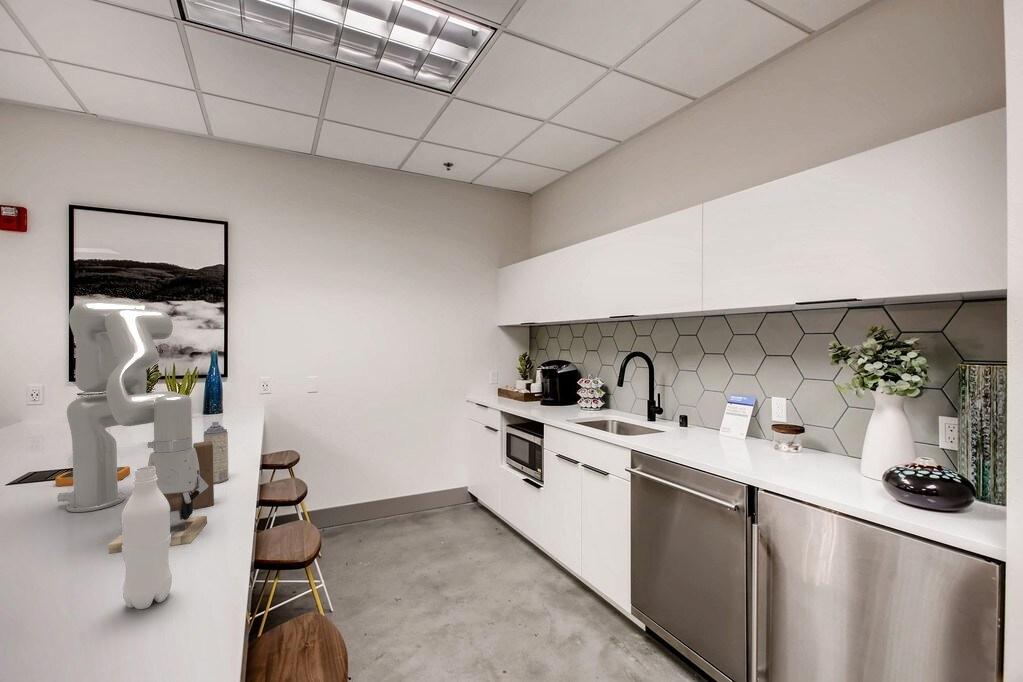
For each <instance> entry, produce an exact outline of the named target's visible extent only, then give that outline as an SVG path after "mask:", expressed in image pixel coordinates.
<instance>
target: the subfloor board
mask: <svg viewBox="0 0 1023 682" xmlns="http://www.w3.org/2000/svg"><path fill="white" fill-rule="evenodd" d="M207 524H208V515H201V516H190V517H189V518H188V519H187V520H185V531H179V532H176V531H172V532H170V534H171V542H170V546H169V547H172V546H179V545H180V546H181V545H186V544H191V543H192V542H193V541H194V540H195V538H196V537H197V536H198V535H199V534H200V532H201V531H202V530H203V529H204V527H206V525H207ZM122 544H123V534H122V533H120V534H119V535H117V537H116V538H114V539H113V540H112V541H111V542H110V543H108V545H107V546H108V548H107V549H108V554H113V553H122Z"/></svg>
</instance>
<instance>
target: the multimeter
mask: <svg viewBox="0 0 1023 682" xmlns="http://www.w3.org/2000/svg"><path fill="white" fill-rule="evenodd" d="M130 473H131V467H130V466H129V465H128V466H121V467H119V466H117V480H118V482H119V481H122V480H124V478H126V477H127V476H129V475H130ZM54 480H55V485H56V486H57V487H68V486H69V487H70V486H74V485H73V470H72V471H71V470H70V471H67V472H63V473H61V474H59V475H57V476H56V477H55V479H54Z"/></svg>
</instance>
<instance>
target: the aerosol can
mask: <svg viewBox="0 0 1023 682" xmlns="http://www.w3.org/2000/svg"><path fill="white" fill-rule="evenodd" d="M211 423H212V424H211V425H210V426H209V427H208V428H207V429H206V430H205V431H203V442H207V441H211V442H212V444H213V477H214V485H216V484H222V483H226V482H228V481H229V445H228V444H229V443H228V442H229V440H228V439H229V434H228V433H229V432H228V429H227V428H225V427H224V426H222V425H220V424H219V421H216V420H215V421H212V422H211Z"/></svg>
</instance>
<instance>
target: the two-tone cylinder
mask: <svg viewBox="0 0 1023 682" xmlns="http://www.w3.org/2000/svg"><path fill="white" fill-rule="evenodd" d="M164 496H165V498H166V499H167V501H168V503H169V505H170V532H172V531H176V532H179V531H185V520H184V519H183V504H184V503H185V499H184V496H183V493H176V494H165V495H164Z"/></svg>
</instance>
